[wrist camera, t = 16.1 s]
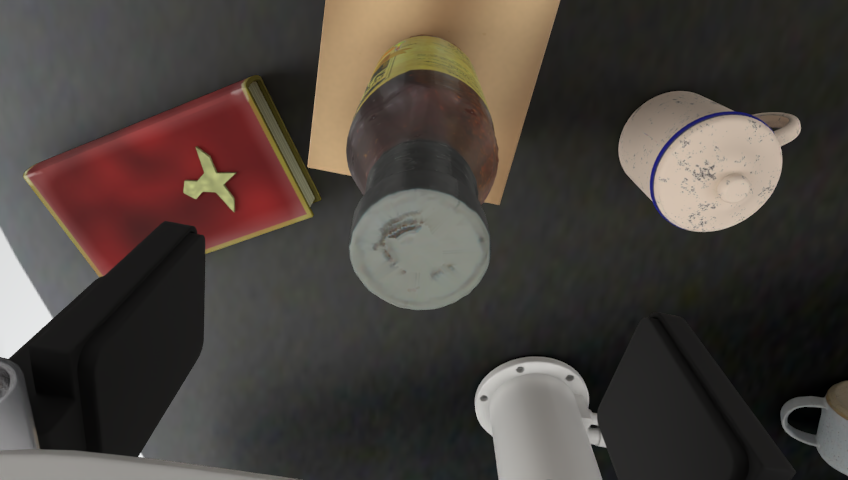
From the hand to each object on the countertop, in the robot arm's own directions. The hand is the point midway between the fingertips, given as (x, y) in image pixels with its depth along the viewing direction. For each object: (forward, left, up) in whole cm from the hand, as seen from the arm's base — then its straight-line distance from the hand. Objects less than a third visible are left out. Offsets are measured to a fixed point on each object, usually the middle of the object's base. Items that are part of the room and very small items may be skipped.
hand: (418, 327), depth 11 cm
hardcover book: (+19, +14, -36) cm, 43 cm away
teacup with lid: (-23, +1, -36) cm, 42 cm away
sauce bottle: (0, 0, -24) cm, 24 cm away
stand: (0, 0, -36) cm, 36 cm away
